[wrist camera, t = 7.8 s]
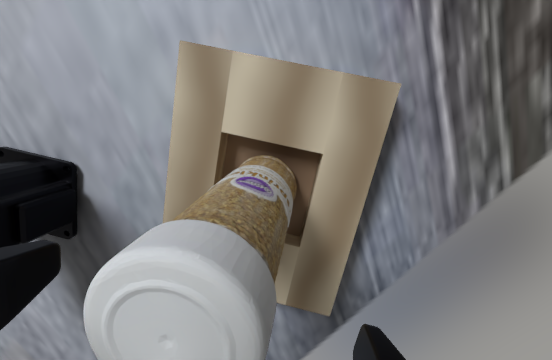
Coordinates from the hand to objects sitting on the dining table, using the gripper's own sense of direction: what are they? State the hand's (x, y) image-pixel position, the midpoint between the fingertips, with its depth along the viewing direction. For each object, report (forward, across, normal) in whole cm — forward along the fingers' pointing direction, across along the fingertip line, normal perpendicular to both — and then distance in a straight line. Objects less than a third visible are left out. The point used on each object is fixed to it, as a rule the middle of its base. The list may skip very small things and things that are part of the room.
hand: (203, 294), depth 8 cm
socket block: (+12, 0, 0) cm, 12 cm away
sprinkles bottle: (+12, 0, 0) cm, 12 cm away
